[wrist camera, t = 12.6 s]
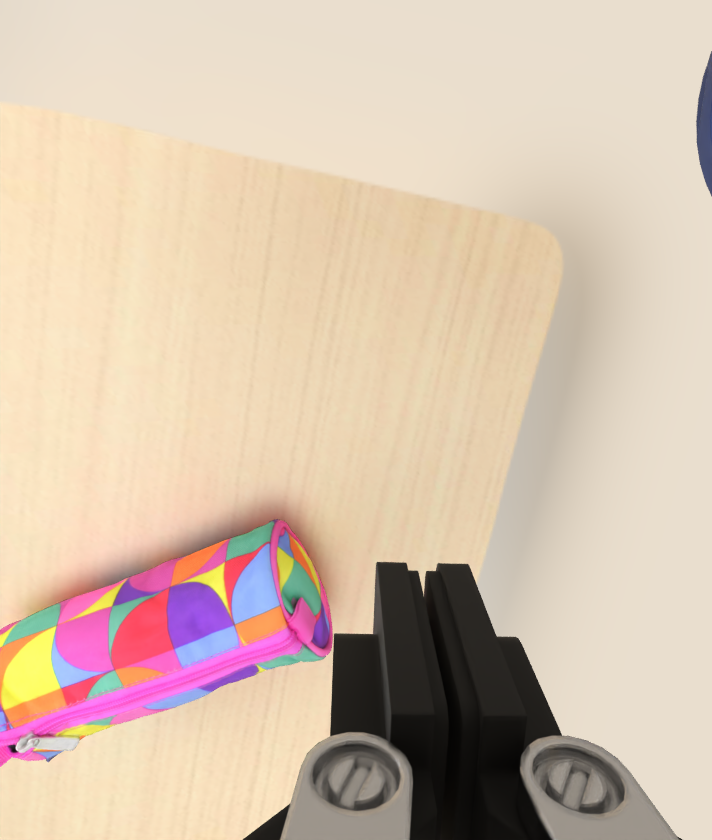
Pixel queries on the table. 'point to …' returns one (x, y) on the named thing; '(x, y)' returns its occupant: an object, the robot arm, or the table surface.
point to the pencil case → (159, 640)
